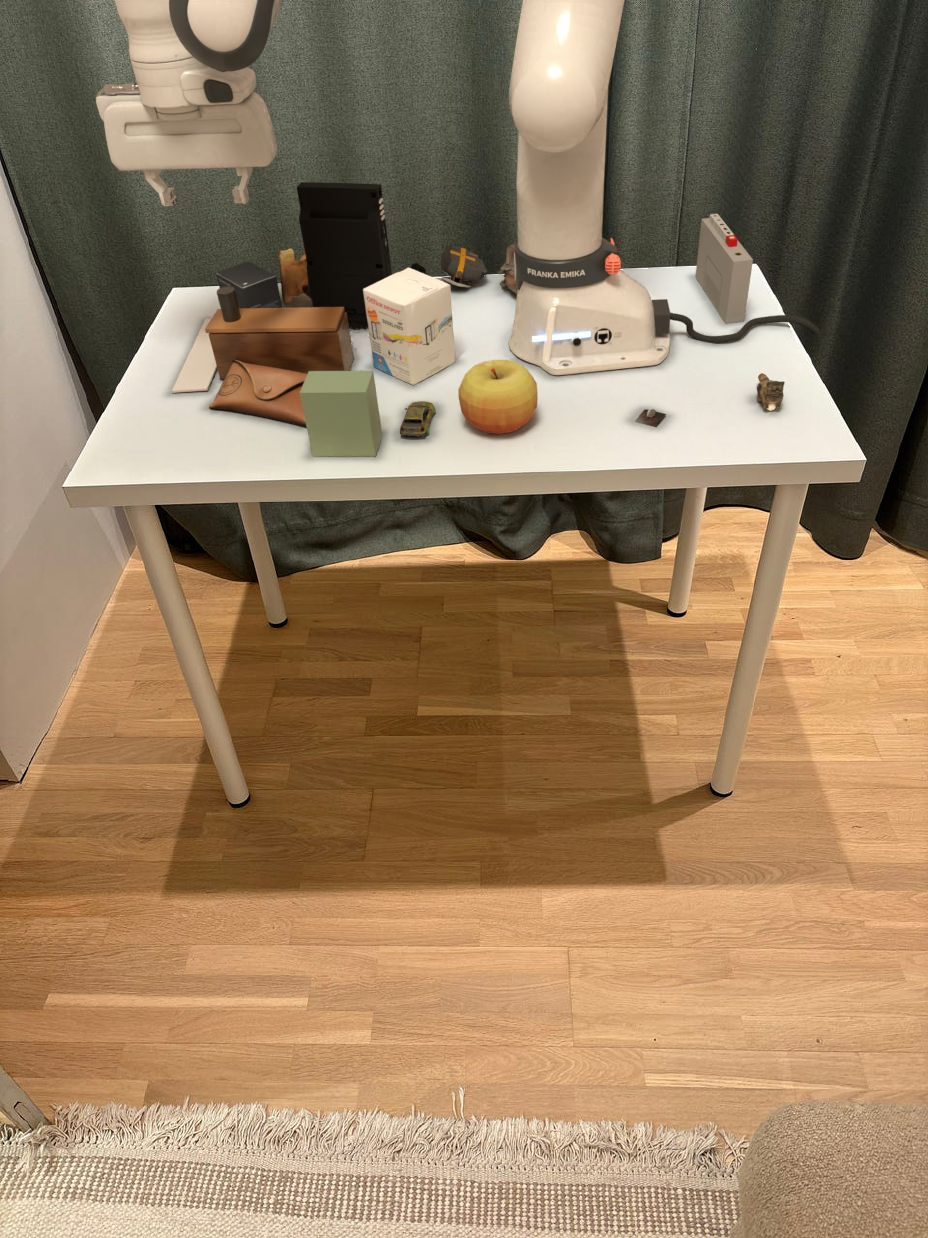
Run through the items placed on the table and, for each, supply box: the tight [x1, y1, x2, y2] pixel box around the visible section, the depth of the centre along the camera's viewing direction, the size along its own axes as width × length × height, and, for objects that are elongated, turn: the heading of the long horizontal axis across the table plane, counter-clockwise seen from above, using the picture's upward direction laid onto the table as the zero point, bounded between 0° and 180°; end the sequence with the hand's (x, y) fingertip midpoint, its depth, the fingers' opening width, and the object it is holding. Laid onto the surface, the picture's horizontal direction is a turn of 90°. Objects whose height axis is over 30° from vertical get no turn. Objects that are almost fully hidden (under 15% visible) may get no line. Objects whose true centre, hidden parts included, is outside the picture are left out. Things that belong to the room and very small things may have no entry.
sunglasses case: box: [208, 360, 307, 427], centre depth 127 cm, size 18×7×7 cm
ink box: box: [363, 267, 456, 386], centre depth 130 cm, size 9×8×12 cm
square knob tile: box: [634, 408, 667, 428], centre depth 119 cm, size 3×3×1 cm
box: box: [215, 260, 284, 308], centre depth 138 cm, size 8×6×11 cm
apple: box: [458, 359, 539, 435], centre depth 119 cm, size 10×10×8 cm
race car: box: [399, 400, 436, 440], centre depth 122 cm, size 4×8×2 cm, turn 171°
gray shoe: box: [439, 245, 489, 288], centre depth 153 cm, size 7×15×4 cm, turn 176°
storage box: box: [208, 312, 355, 382], centre depth 133 cm, size 18×6×7 cm, turn 84°
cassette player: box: [694, 213, 754, 324], centre depth 139 cm, size 16×3×10 cm, turn 6°
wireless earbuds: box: [398, 262, 430, 276], centre depth 153 cm, size 7×2×5 cm
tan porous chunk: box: [278, 244, 311, 305], centre depth 149 cm, size 12×10×8 cm
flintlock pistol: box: [497, 244, 517, 295], centre depth 150 cm, size 19×4×10 cm
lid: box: [205, 286, 344, 333], centre depth 129 cm, size 18×6×5 cm, turn 84°
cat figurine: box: [756, 372, 786, 412], centre depth 120 cm, size 3×8×4 cm, turn 0°
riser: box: [300, 370, 383, 457], centre depth 117 cm, size 8×5×9 cm, turn 84°
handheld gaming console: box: [296, 181, 393, 330], centre depth 137 cm, size 12×5×20 cm, turn 76°
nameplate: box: [171, 317, 218, 394], centre depth 140 cm, size 22×1×5 cm
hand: (206, 203), depth 120 cm, fingers open, 8 cm apart
